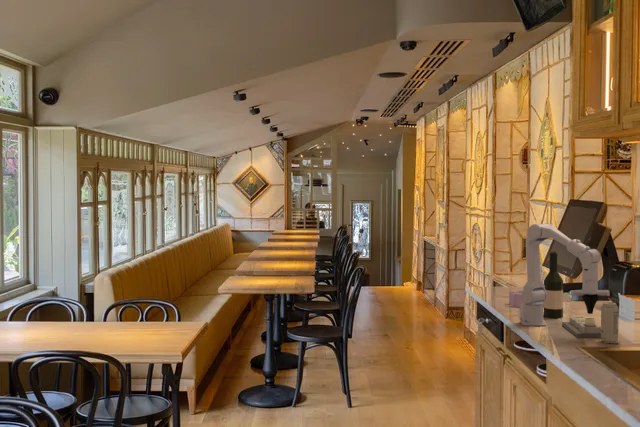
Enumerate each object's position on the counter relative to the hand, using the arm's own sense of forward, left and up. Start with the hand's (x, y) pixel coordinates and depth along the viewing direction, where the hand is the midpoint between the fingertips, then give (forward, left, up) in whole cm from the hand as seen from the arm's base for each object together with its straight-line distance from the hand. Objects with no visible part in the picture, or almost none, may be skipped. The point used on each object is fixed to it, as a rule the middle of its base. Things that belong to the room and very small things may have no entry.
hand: (590, 313), depth 268 cm
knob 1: (0, +14, -7) cm, 16 cm away
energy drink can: (+4, -11, -9) cm, 15 cm away
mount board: (0, +7, -9) cm, 11 cm away
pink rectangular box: (-9, +63, -9) cm, 65 cm away
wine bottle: (-5, +37, -9) cm, 38 cm away
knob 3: (0, 0, -5) cm, 5 cm away
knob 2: (0, +7, -7) cm, 10 cm away
